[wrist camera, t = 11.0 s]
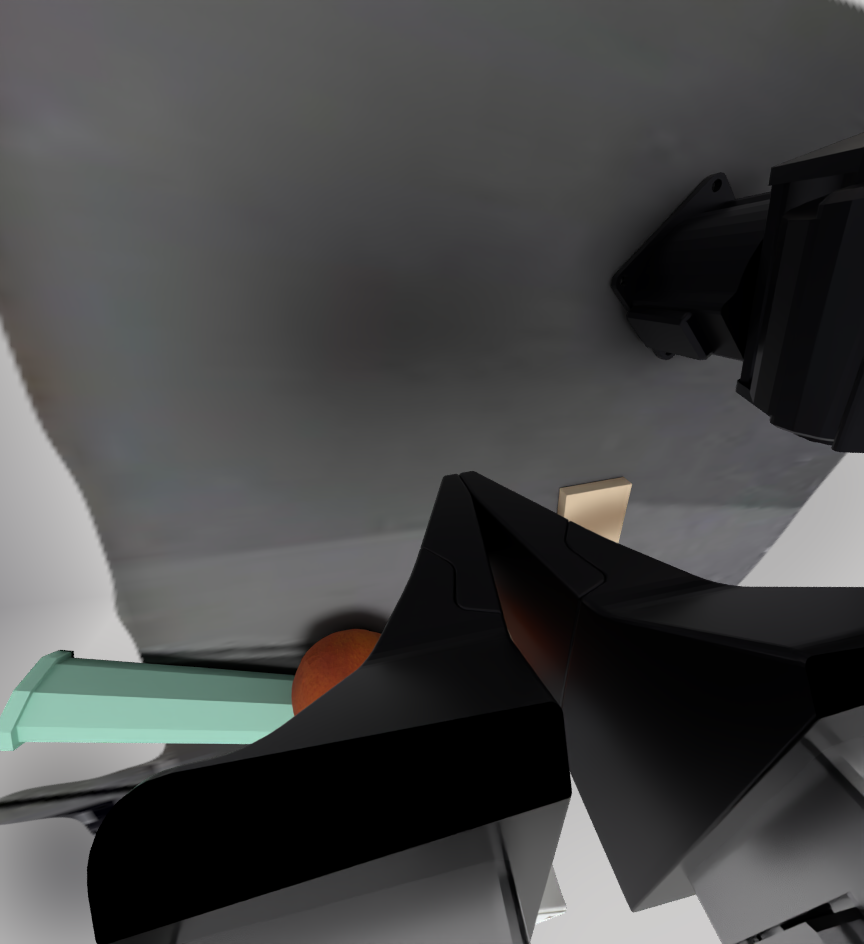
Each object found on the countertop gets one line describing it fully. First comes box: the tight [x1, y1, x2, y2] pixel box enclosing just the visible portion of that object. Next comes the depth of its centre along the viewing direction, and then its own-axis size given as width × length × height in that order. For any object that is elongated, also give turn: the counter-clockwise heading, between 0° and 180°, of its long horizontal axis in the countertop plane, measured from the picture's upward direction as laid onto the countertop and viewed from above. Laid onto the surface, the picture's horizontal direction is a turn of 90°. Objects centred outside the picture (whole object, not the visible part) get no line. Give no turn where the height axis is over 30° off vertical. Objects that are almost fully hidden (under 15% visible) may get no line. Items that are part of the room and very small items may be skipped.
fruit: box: [291, 629, 381, 716], centre depth 27 cm, size 9×9×8 cm
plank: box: [557, 477, 632, 543], centre depth 33 cm, size 33×5×1 cm, turn 6°
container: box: [0, 650, 295, 751], centre depth 28 cm, size 6×6×25 cm
